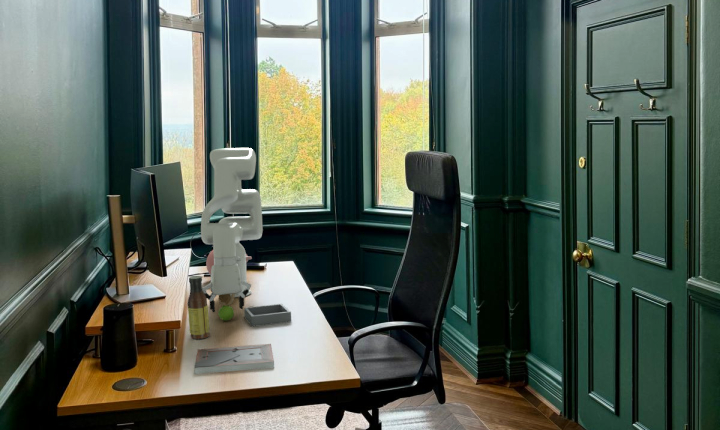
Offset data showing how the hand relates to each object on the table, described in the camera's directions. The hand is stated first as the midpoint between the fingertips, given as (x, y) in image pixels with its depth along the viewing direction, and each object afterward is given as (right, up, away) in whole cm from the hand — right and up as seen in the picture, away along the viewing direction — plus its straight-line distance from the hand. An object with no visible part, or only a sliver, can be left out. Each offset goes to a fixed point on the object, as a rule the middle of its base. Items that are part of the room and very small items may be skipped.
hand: (227, 310), depth 242 cm
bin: (+14, -3, +1) cm, 14 cm away
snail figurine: (0, -4, +1) cm, 4 cm away
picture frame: (+10, -10, -42) cm, 44 cm away
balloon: (-12, +4, +67) cm, 68 cm away
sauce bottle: (-5, -6, -18) cm, 20 cm away
